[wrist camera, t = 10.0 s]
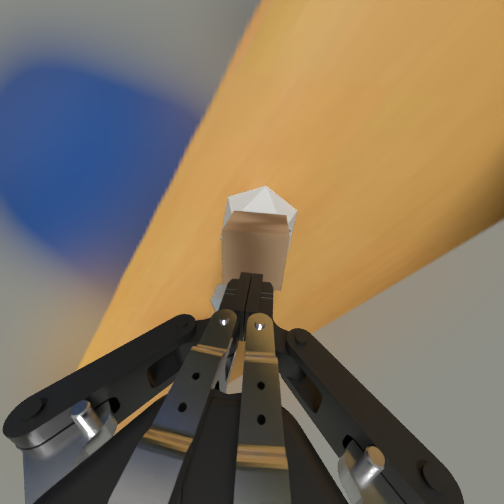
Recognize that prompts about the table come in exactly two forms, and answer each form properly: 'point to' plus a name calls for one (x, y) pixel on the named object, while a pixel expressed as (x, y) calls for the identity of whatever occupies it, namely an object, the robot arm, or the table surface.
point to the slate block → (218, 296)
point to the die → (261, 205)
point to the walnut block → (255, 246)
